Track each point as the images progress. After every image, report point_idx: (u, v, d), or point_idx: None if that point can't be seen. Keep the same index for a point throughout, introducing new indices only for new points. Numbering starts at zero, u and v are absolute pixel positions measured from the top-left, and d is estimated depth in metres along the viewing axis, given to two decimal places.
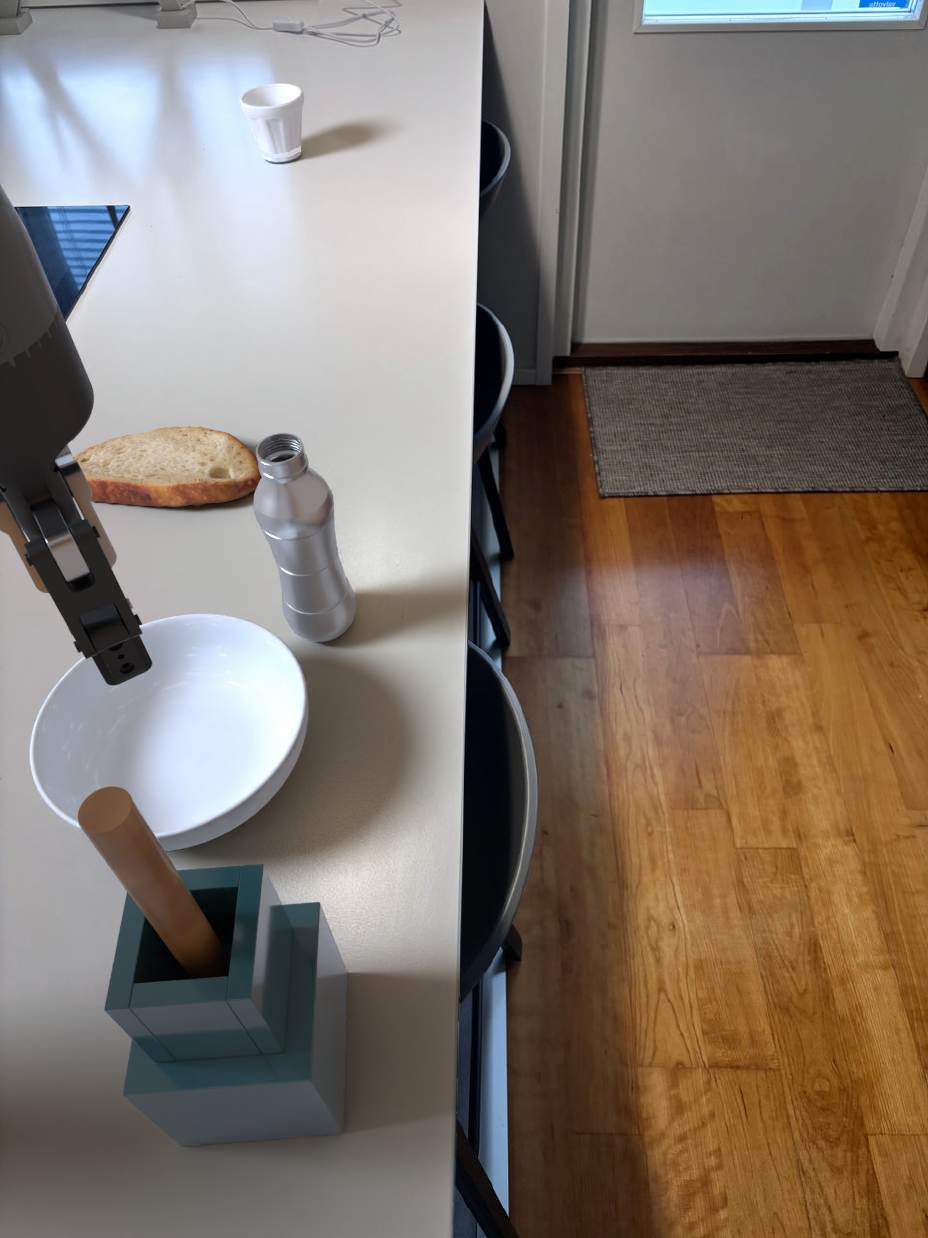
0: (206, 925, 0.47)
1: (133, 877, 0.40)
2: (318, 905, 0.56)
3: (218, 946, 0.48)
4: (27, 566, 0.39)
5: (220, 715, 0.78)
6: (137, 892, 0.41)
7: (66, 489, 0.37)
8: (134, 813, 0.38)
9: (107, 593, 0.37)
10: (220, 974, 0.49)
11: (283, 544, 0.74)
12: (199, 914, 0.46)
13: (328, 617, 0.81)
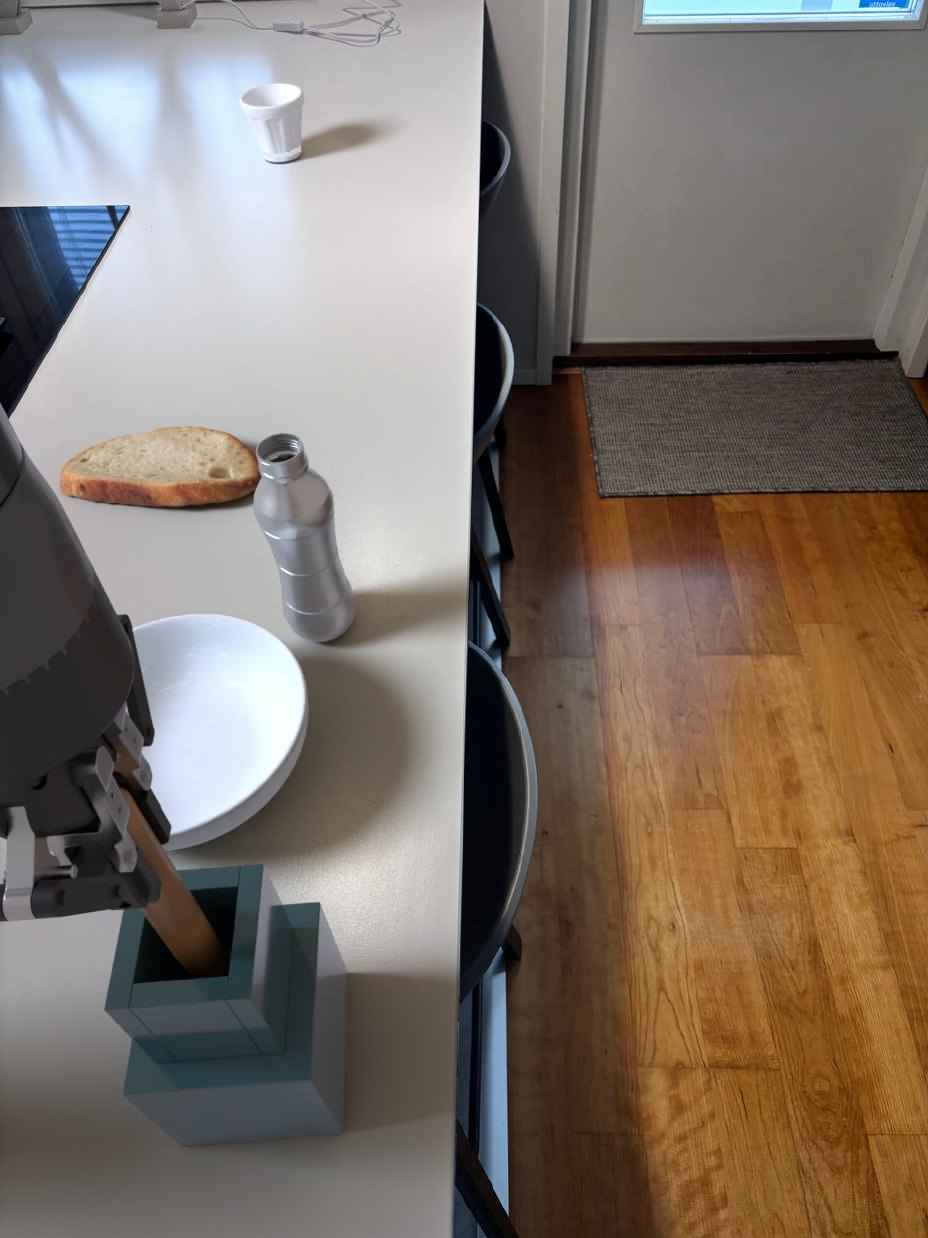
0: (206, 925, 0.47)
1: None
2: (318, 905, 0.56)
3: (218, 946, 0.48)
4: None
5: (220, 715, 0.78)
6: None
7: (48, 806, 0.31)
8: (134, 813, 0.38)
9: None
10: (220, 974, 0.49)
11: (283, 544, 0.74)
12: (199, 914, 0.46)
13: (328, 617, 0.81)
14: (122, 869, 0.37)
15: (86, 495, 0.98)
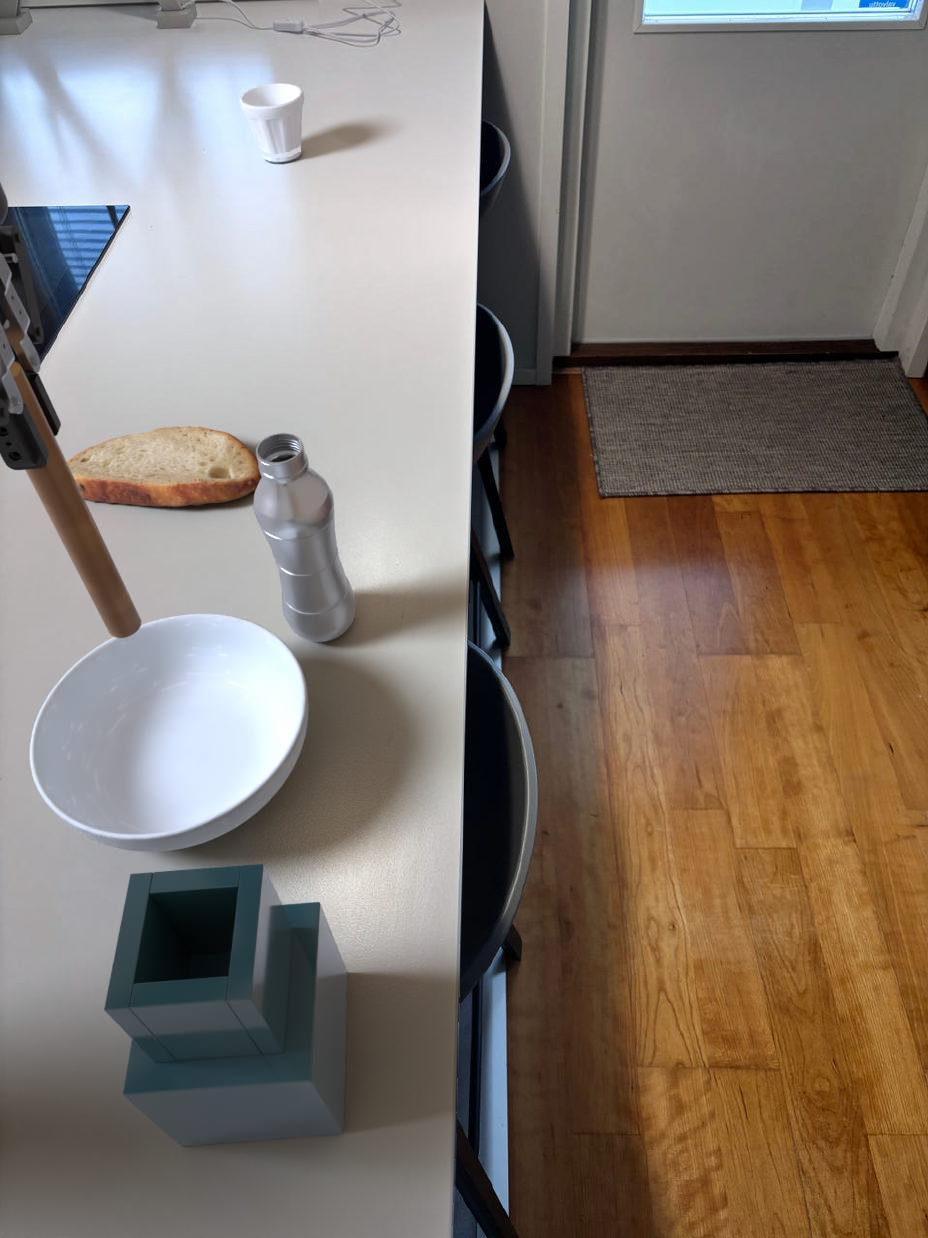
0: (97, 531, 0.58)
1: None
2: (318, 905, 0.56)
3: (110, 559, 0.59)
4: None
5: (220, 715, 0.78)
6: None
7: None
8: (22, 376, 0.49)
9: None
10: (113, 588, 0.60)
11: (283, 544, 0.74)
12: (90, 515, 0.57)
13: (328, 617, 0.81)
14: (9, 407, 0.48)
15: (86, 495, 0.98)
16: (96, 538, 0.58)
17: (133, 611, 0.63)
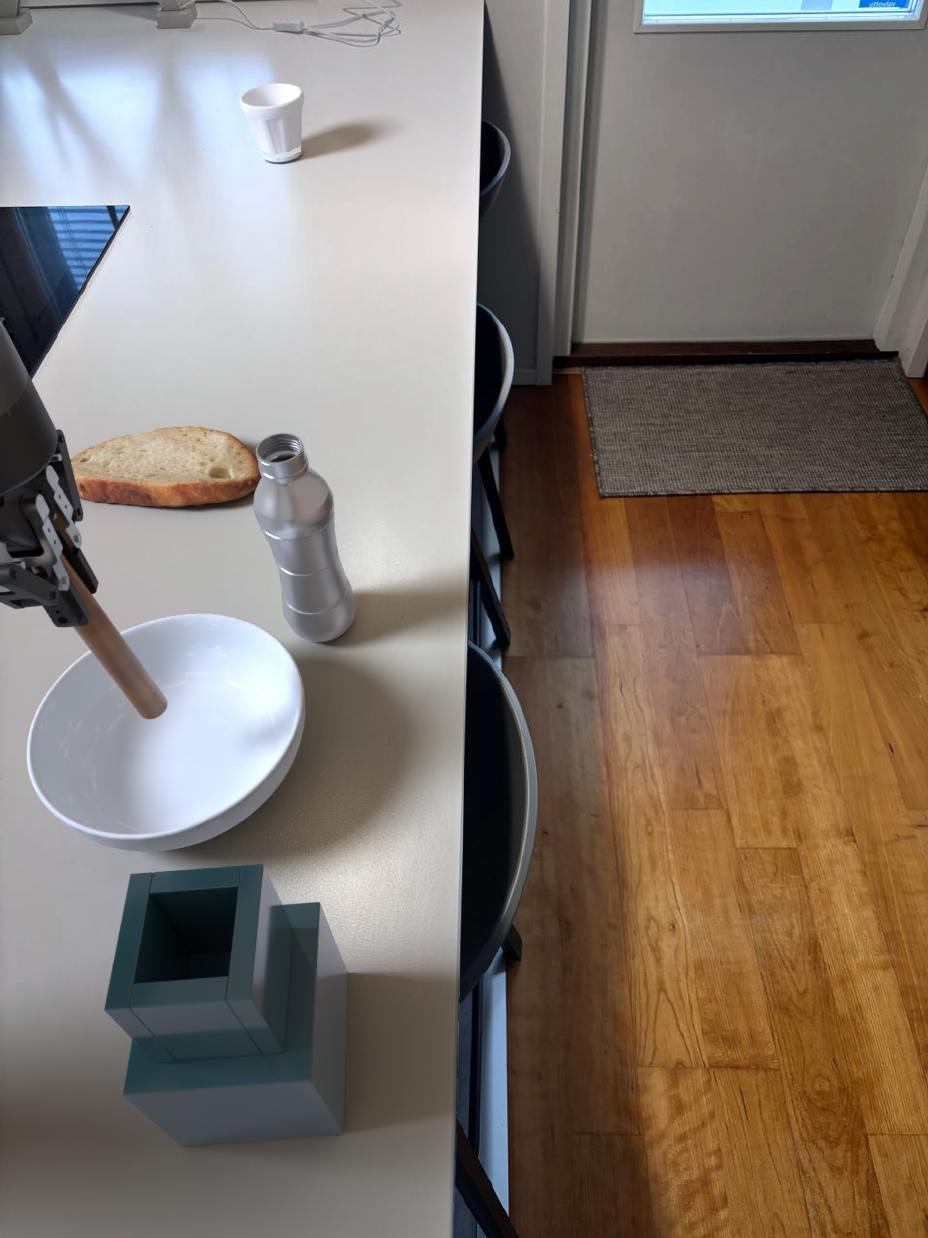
0: (115, 639, 0.65)
1: None
2: (318, 905, 0.56)
3: (129, 661, 0.67)
4: None
5: (218, 715, 0.78)
6: None
7: (5, 519, 0.52)
8: None
9: (26, 596, 0.54)
10: (132, 683, 0.68)
11: (283, 544, 0.74)
12: (106, 627, 0.64)
13: (328, 617, 0.81)
14: (59, 587, 0.58)
15: (86, 495, 0.98)
16: (112, 645, 0.65)
17: (155, 700, 0.70)
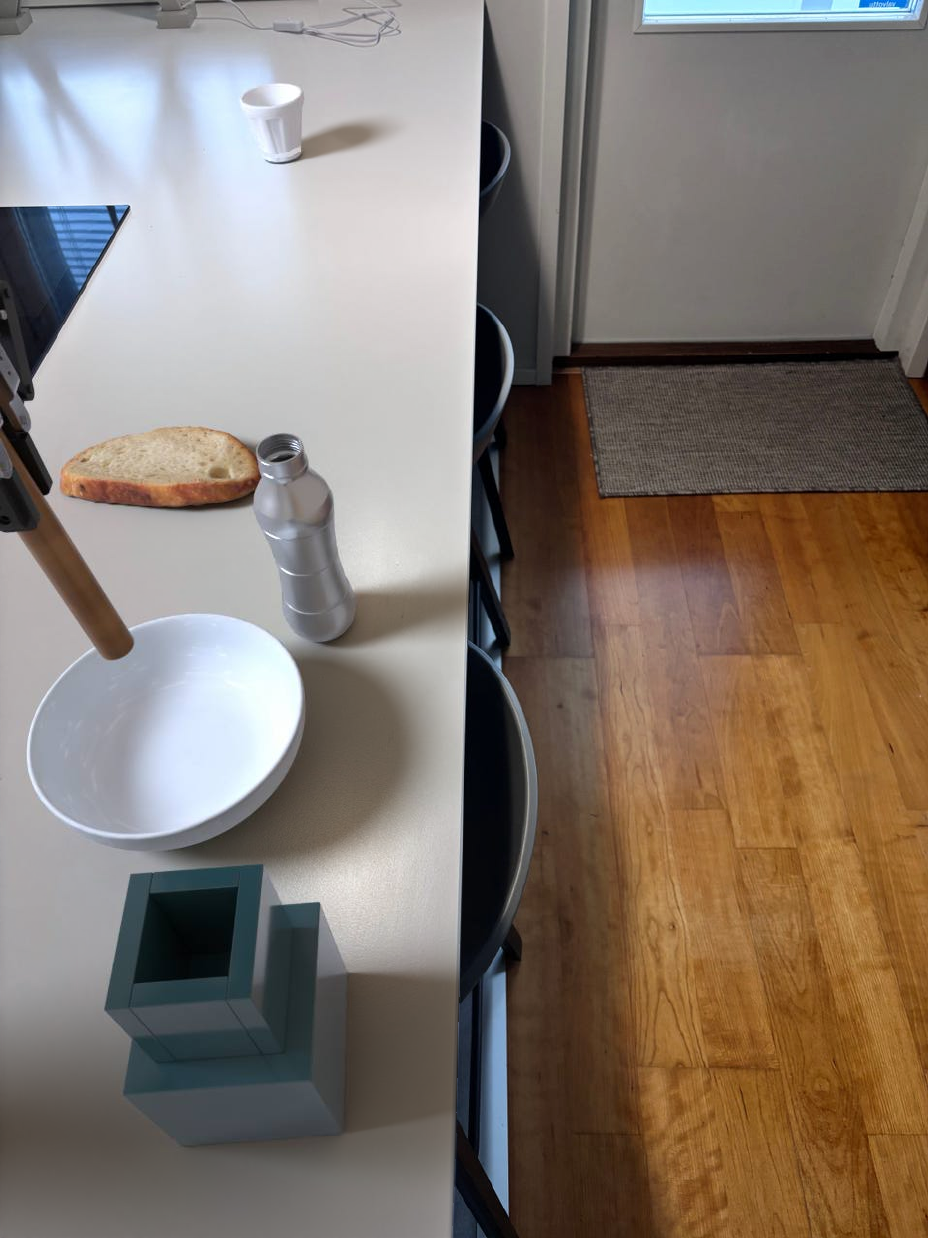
0: (69, 553, 0.53)
1: None
2: (318, 905, 0.56)
3: (87, 583, 0.55)
4: None
5: (218, 715, 0.78)
6: None
7: None
8: None
9: None
10: (89, 612, 0.56)
11: (283, 544, 0.74)
12: (58, 537, 0.52)
13: (328, 617, 0.81)
14: None
15: (86, 495, 0.98)
16: (66, 561, 0.53)
17: (118, 637, 0.58)
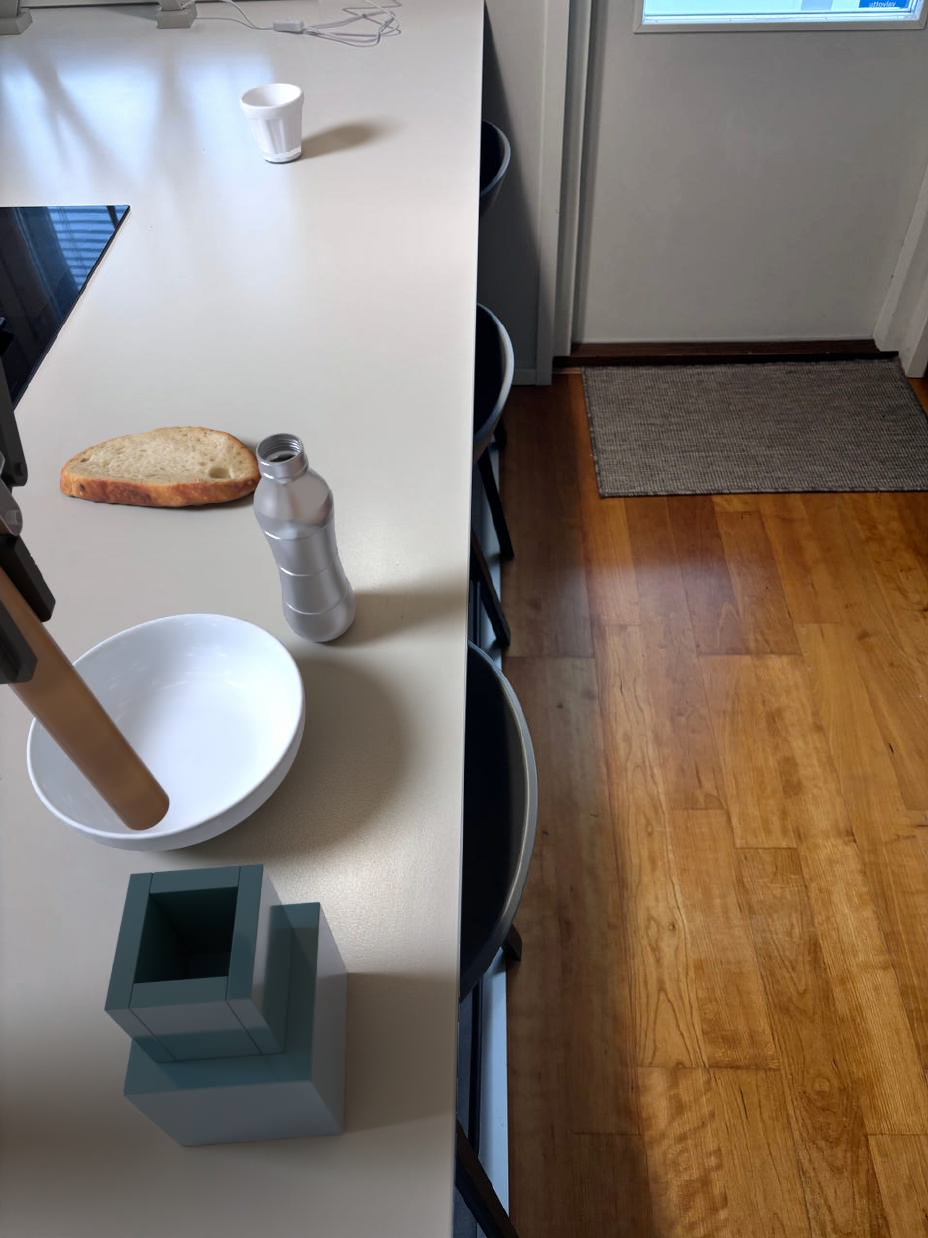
0: (81, 702, 0.36)
1: None
2: (318, 905, 0.56)
3: (106, 739, 0.38)
4: None
5: (218, 715, 0.78)
6: None
7: None
8: None
9: None
10: (109, 776, 0.39)
11: (283, 544, 0.74)
12: (65, 682, 0.35)
13: (328, 617, 0.81)
14: None
15: (86, 495, 0.98)
16: (76, 713, 0.36)
17: (149, 801, 0.41)
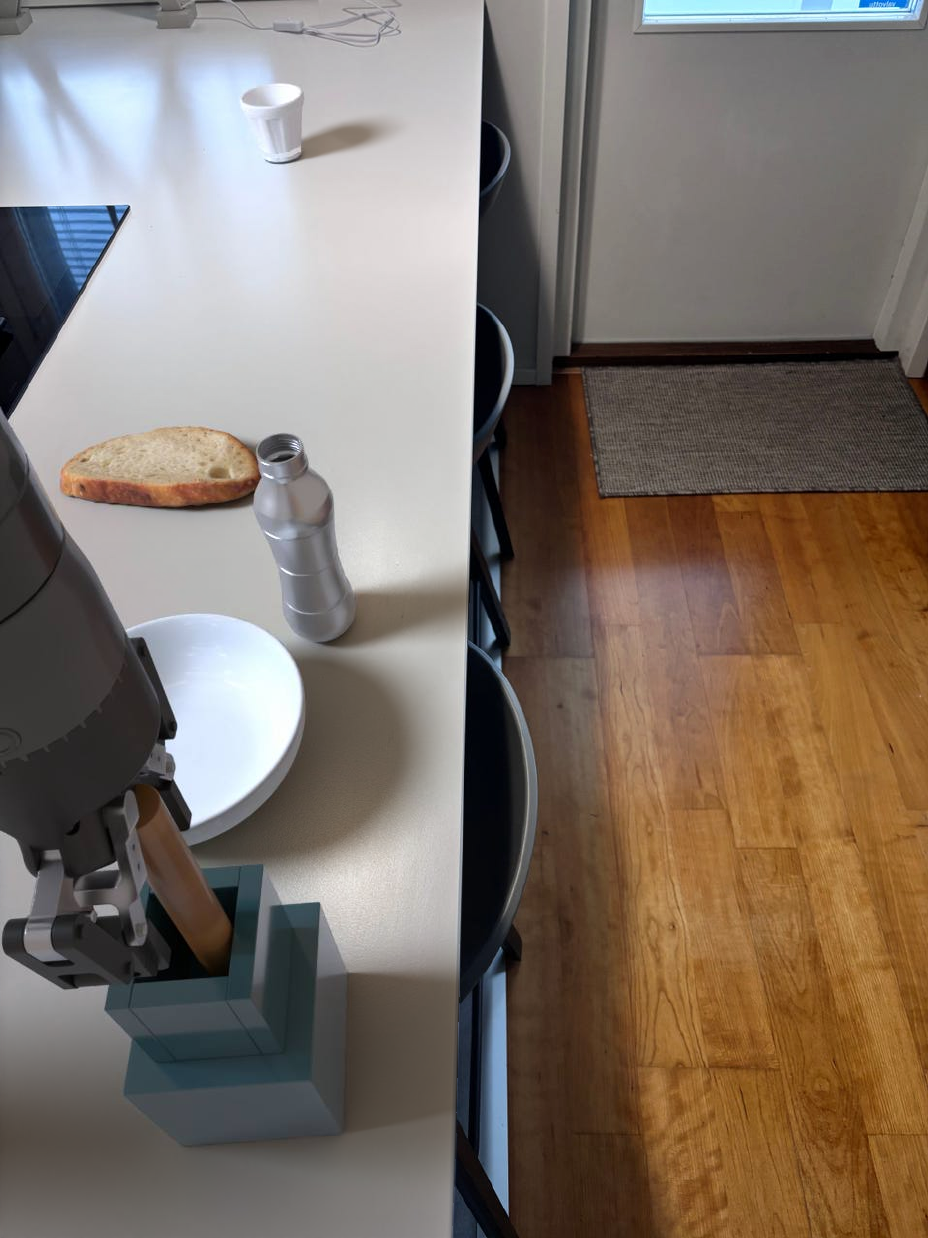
0: (224, 933, 0.46)
1: (148, 875, 0.40)
2: (318, 905, 0.56)
3: None
4: None
5: (218, 715, 0.78)
6: (152, 887, 0.41)
7: (81, 849, 0.33)
8: (156, 821, 0.38)
9: (88, 969, 0.34)
10: None
11: (283, 544, 0.74)
12: (218, 922, 0.45)
13: (328, 617, 0.81)
14: (133, 943, 0.37)
15: (86, 495, 0.98)
16: (220, 941, 0.46)
17: None
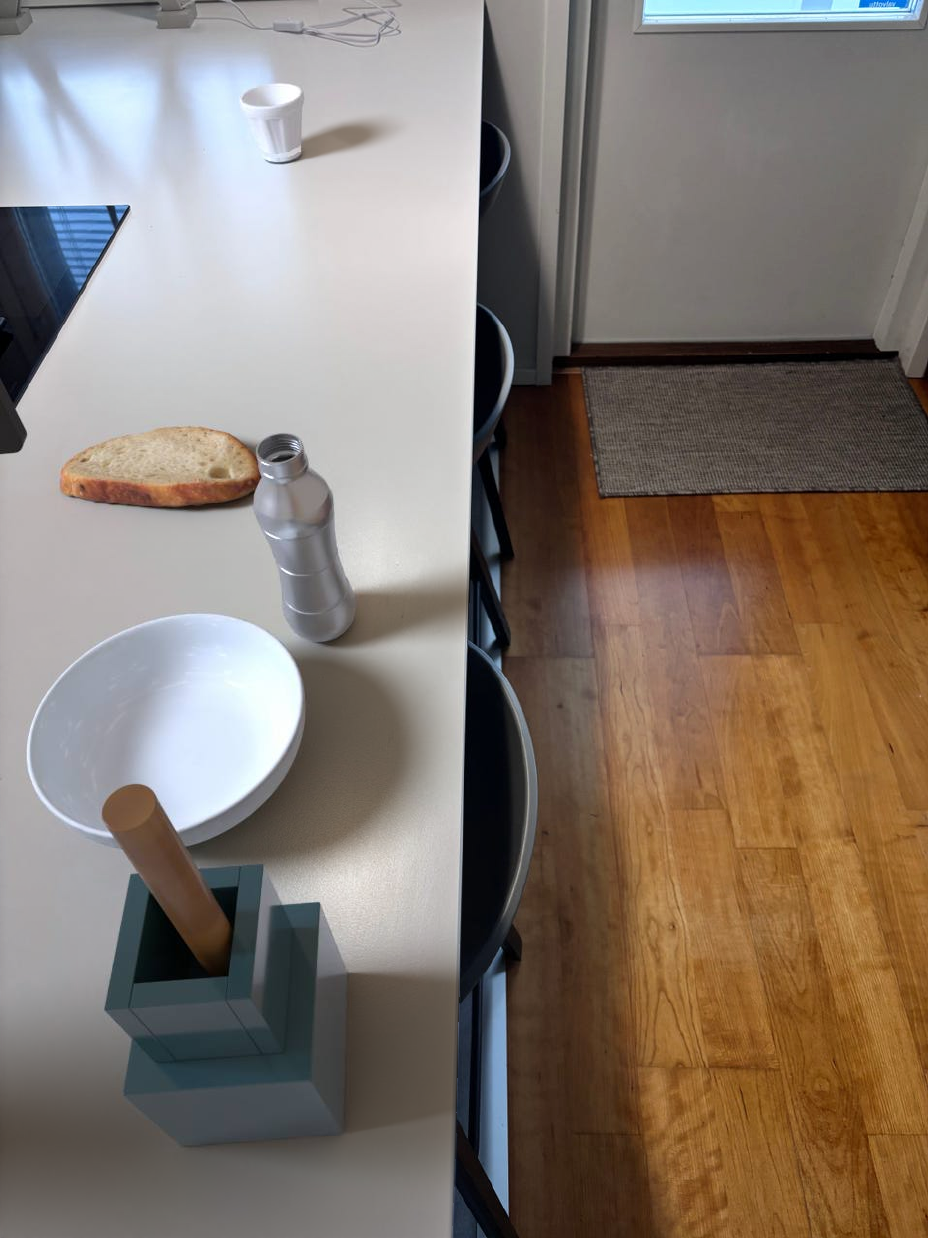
0: (223, 933, 0.46)
1: (144, 875, 0.40)
2: (318, 905, 0.56)
3: None
4: None
5: (218, 715, 0.78)
6: (149, 887, 0.41)
7: None
8: (152, 821, 0.38)
9: None
10: None
11: (283, 544, 0.74)
12: (216, 922, 0.45)
13: (328, 617, 0.81)
14: None
15: (86, 495, 0.98)
16: (218, 941, 0.46)
17: None
